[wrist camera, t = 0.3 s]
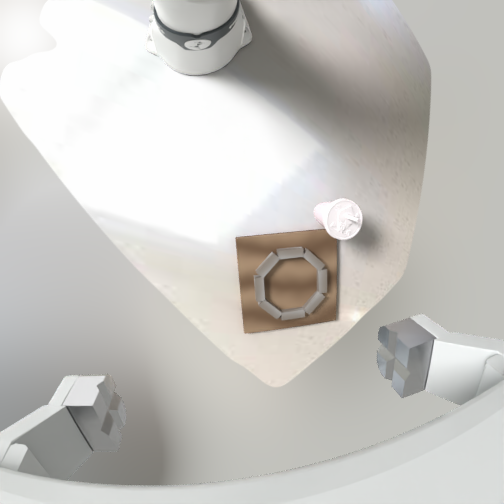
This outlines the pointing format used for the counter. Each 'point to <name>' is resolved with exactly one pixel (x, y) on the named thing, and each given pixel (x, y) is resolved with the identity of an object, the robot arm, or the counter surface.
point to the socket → (287, 279)
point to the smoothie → (339, 218)
